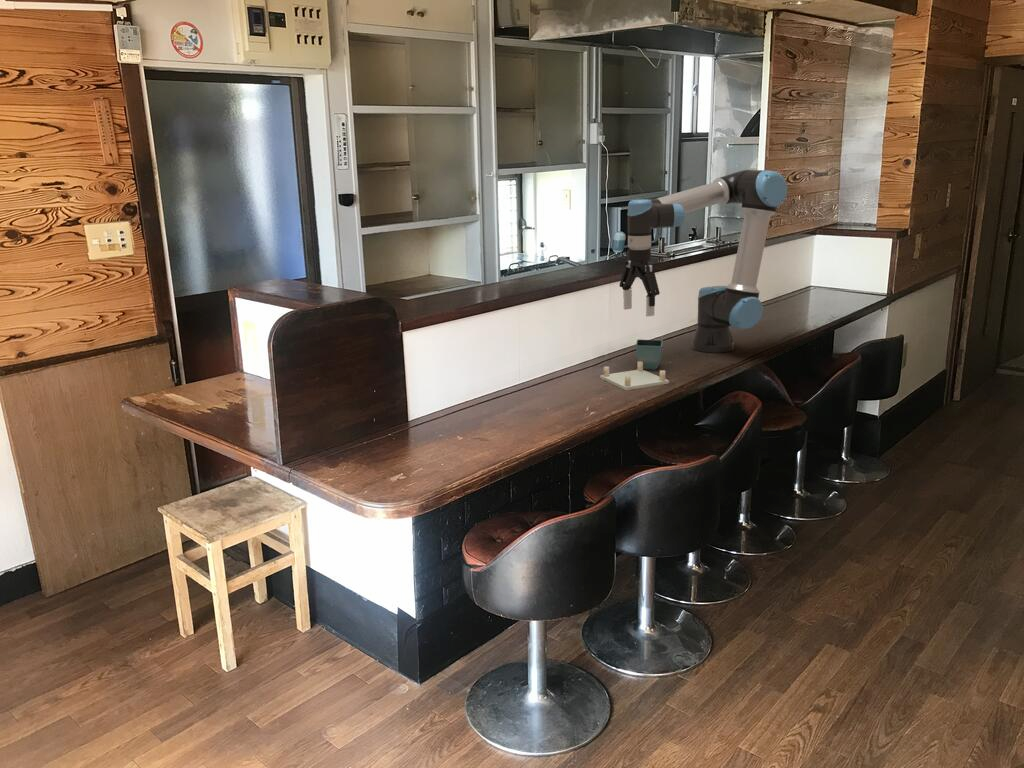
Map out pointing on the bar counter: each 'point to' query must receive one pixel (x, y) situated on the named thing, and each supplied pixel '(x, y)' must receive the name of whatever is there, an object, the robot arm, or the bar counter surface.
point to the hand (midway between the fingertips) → (638, 312)
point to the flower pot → (649, 353)
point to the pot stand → (634, 378)
